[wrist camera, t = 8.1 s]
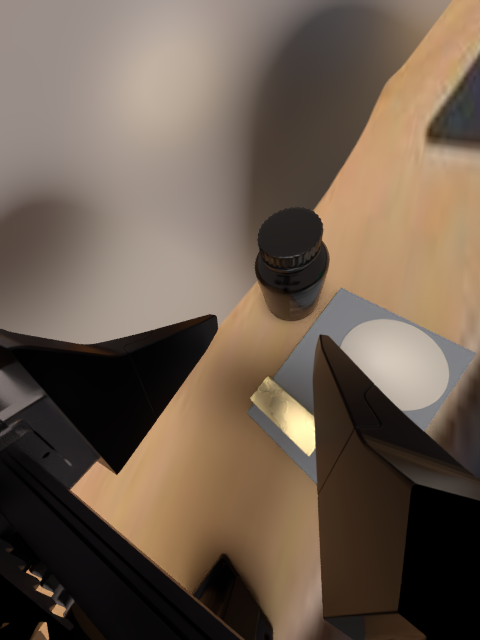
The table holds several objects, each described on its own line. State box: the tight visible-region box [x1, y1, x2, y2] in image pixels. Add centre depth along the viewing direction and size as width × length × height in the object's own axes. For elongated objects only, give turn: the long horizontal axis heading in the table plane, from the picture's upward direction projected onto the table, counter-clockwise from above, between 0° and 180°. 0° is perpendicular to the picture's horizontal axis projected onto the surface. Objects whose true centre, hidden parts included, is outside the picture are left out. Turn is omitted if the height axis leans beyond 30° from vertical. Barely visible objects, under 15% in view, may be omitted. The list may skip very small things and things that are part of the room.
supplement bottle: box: [255, 207, 330, 320], centre depth 18 cm, size 7×7×12 cm
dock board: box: [247, 288, 477, 484], centre depth 17 cm, size 19×13×4 cm
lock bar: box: [250, 376, 316, 456], centre depth 18 cm, size 3×7×2 cm, turn 51°
